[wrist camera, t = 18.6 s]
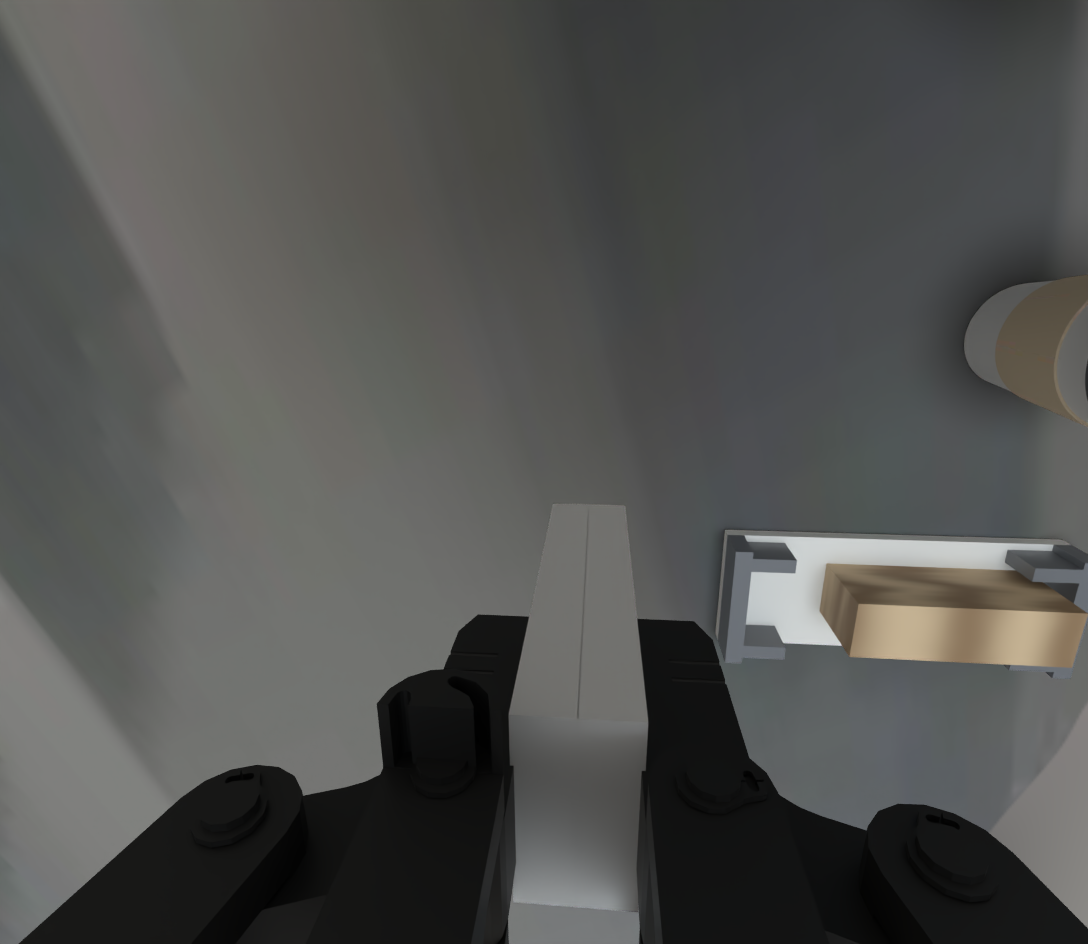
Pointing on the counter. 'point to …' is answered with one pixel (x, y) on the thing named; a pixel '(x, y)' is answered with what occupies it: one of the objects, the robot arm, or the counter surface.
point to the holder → (800, 562)
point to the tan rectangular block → (950, 615)
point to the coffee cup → (1035, 344)
